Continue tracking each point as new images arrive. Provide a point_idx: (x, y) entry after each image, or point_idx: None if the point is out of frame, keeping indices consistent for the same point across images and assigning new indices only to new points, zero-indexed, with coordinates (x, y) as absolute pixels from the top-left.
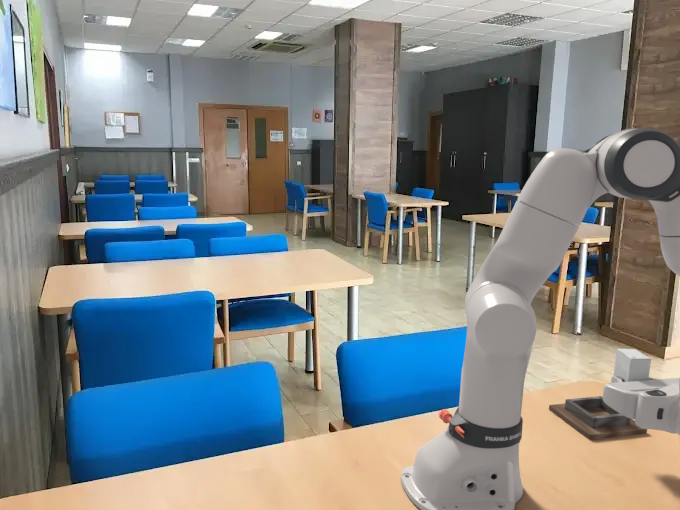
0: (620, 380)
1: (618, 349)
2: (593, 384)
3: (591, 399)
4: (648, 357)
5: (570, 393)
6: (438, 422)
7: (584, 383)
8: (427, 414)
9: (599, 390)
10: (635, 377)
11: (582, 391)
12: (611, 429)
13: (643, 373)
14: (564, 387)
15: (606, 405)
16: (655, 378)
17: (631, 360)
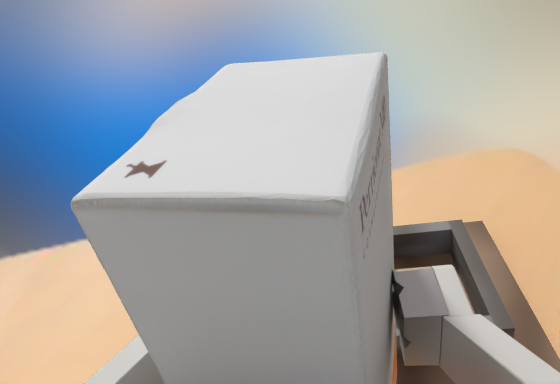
0: (127, 361)
1: (217, 72)
2: (510, 157)
3: (416, 234)
4: (349, 165)
5: (419, 189)
6: (6, 284)
7: (486, 154)
8: (22, 255)
9: (514, 177)
10: (213, 377)
11: (459, 181)
12: (410, 378)
13: (285, 359)
14: (419, 169)
15: (459, 258)
16: (518, 357)
17: (80, 219)
